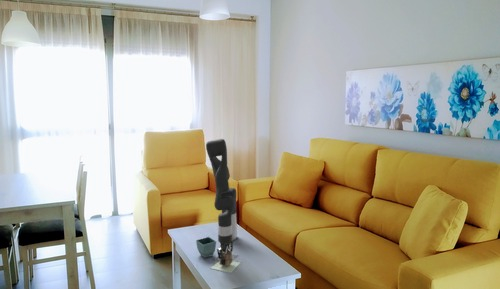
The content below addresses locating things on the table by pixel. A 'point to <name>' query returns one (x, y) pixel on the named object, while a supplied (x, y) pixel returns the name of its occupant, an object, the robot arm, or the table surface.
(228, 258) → the walnut block
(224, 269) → the coaster
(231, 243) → the robot arm
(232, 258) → the tile
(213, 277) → the table surface
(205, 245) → the flower pot
